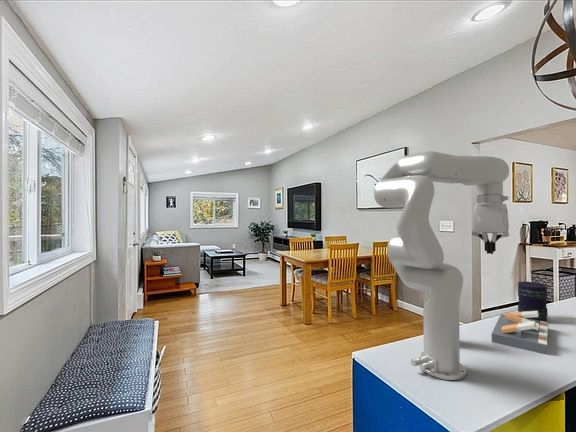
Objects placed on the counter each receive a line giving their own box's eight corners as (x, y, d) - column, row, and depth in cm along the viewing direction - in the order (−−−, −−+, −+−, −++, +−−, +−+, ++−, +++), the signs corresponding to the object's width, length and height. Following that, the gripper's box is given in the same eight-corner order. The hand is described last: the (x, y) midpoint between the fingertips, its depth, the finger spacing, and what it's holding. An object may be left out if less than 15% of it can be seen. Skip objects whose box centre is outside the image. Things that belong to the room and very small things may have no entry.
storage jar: (512, 317, 130) (512, 283, 130) (526, 313, 134) (526, 280, 134) (539, 324, 121) (538, 288, 121) (553, 321, 125) (552, 285, 125)
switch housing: (547, 354, 96) (547, 339, 96) (491, 341, 106) (491, 327, 106) (548, 329, 116) (548, 317, 116) (501, 321, 126) (500, 309, 126)
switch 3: (537, 330, 100) (533, 324, 101) (503, 335, 106) (500, 329, 107) (537, 326, 104) (534, 320, 104) (505, 331, 110) (502, 326, 110)
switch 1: (539, 319, 112) (537, 313, 112) (507, 320, 118) (505, 315, 119) (539, 315, 115) (537, 310, 116) (508, 317, 122) (507, 312, 122)
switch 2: (537, 332, 106) (538, 327, 106) (503, 320, 113) (505, 315, 112) (537, 328, 110) (539, 323, 109) (505, 316, 116) (506, 311, 116)
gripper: (517, 199, 101) (518, 253, 101) (467, 201, 111) (467, 250, 111) (515, 199, 95) (516, 256, 95) (462, 200, 105) (463, 252, 105)
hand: (490, 253), depth 103 cm, fingers closed
